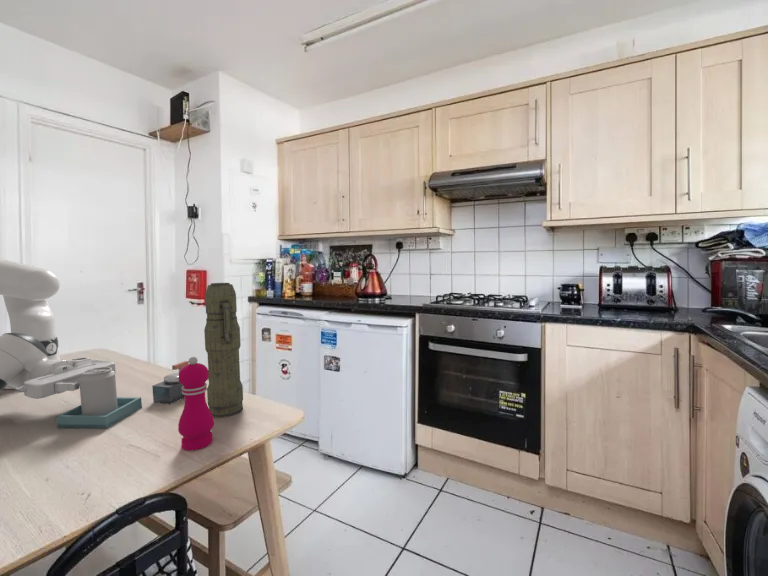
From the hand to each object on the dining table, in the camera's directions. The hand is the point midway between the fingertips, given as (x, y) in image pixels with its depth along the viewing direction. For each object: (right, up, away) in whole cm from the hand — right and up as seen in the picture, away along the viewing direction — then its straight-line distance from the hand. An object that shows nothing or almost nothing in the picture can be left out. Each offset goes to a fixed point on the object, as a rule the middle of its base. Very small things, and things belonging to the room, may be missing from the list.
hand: (95, 380), depth 98 cm
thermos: (+33, -9, +4) cm, 35 cm away
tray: (+2, -10, 0) cm, 10 cm away
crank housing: (+14, -8, +15) cm, 22 cm away
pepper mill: (+34, -11, -14) cm, 39 cm away
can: (+2, -9, 0) cm, 9 cm away
